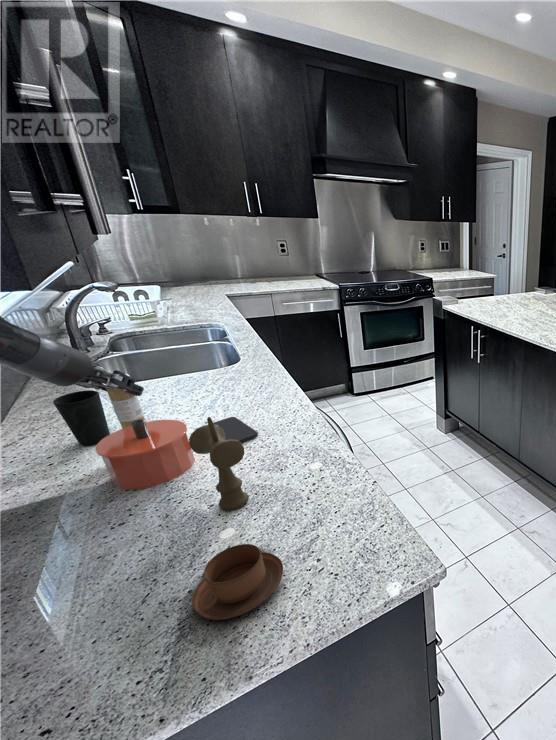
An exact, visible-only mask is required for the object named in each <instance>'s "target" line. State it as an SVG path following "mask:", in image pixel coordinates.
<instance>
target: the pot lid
mask: <svg viewBox="0 0 556 740" xmlns="http://www.w3.org/2000/svg"><path fill="white" fill-rule="evenodd" d="M145 420H146V419H145ZM145 420H142V419H141V420H136V421H133V422H131V426H129V427H126V428H123V429H122V428H121V429H119V430H116V431H114V432H112V433H110V435H108V436H106V437H105V438H103V439H102V440H101V441H100V442H99V443H98V444H97V445H95V448H94V449H95V452H96V454H97V455H98V456H100V457H101V458H102V457H107V458H125V457H132V456H138V455H142V454H146V453H149V452H153V451H156V450H159V449H161V448H164V447H166V446H168V445H170V444H172V443H174V442H176V441H177V440H179V439H180V438H181V437H182V436H184V434H185V433H186V434H187V431H188V427H187V424H186V423H185V422H183V421H181V420H176V419H155V420H149V421H146V422H145Z"/></svg>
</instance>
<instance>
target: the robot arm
mask: <svg viewBox="0 0 556 740" xmlns="http://www.w3.org/2000/svg"><path fill="white" fill-rule="evenodd" d="M0 365H1V366H3V367H5V368H9V369H10V370H13V371H15V372H17V373H19V374H22V375H26V376H28V377H31V378H34V379H38V380H40V381H43V382H46V383H49V384H52V385H54V386H58V387H70V386H73V385H75V386H78V387H82V388H84V389H93V390H95V391H104V392H107V390H106V389H113V388H114V389H118V390H121V391H124V392H127V393H130V394H132V395H135V396H137V397H141V396H142V395H143V393H144V387H143V386H141V385H139V384H136V381H137V380H136V379H135V378H133V377H131V376H130V375H129V376H130V377H129V376H127V375H126V374H127V373H124V372H122V371H121V370H116V369H115V370H113V371H110V370H107V369H106V368H104V367H101V366H98V365H96V364H95V365H93V363H92V359H91V357H90V356H89V354H87V353H86V352H83V351H81V350H79V349H76V348H74V347H72V346H69V345H67V344H65V343H62V342H60V341H57V340H55V339H54V338H51V337H47V336H44V335H42V334H39V333H35V332H32V331H30V330H28V329H27V328H24V327H22V326H19V325H16V324H14V323H12V322H10V321H8V320H7V319H6V318H4V317H3V316H1V315H0ZM109 379H110V380H109ZM108 380H109V383H108V385H105V384H106V383H107V382H108ZM116 385H117V386H116ZM107 393H108V392H107Z"/></svg>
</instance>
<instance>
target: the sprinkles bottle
mask: <svg viewBox="0 0 556 740" xmlns="http://www.w3.org/2000/svg"><path fill="white" fill-rule="evenodd" d="M125 374H126V375H127V376H129V377H131V376H130V375H129V374H128V373H125ZM109 380H110V379H109ZM109 380H108V382H107V383H106V384H105V385H108V383H109ZM116 386H117V385H116ZM106 390H107V395H108V398H109V400H110V403H111V405H112V407H113V411H114V413H115V416H116V418H117V420H118V422H119V424H120V426H121V429H123V428H126V427H129V426H131V422H133V421H136V420H141V419H142V420H145V422H147V421H146V418H145V415H144V414H145V413H144V412H143V408H142V406H141V403H140V400H139V398H138V396H135V395H132V394H130V393H127V392H124V391H121V390H118V389H114V388H113V389H106Z"/></svg>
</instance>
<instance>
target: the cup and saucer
mask: <svg viewBox="0 0 556 740" xmlns="http://www.w3.org/2000/svg"><path fill="white" fill-rule="evenodd" d="M283 574H284V565H283V562H282V560H281V559H280V557H278V556H277V555H275V554H274V553H270V552H265V551H261V549H260V548H259V546H257V545H255V544H252V543H251V544H250V543H242V544H237V545H233V546H229V547H228V548H225V549H223V550H222V551H220V552H218V553H217V554H215V555H214V556H213V557H212V558H211V559H210V560H209V561H208V562H207V564H206V565H205V567H204V569H203V578H202V579H201V581H200V582H199V583H198V585H197V586H196V587H195V589H194V592H193V593H192V599H191V605H192V608H193V610H194V611H195V613H196V614H197V615H199V616H200V617H202V618H204V619H207V620H211V621H212V620H213V621H220V620H227V619H231V618H236V617H238V616H240V615H243V614H245V613H247V612H250V611H251V610H253V609H255V608H256V607H258V606H259V605H261V604H263V602H265V601H267V599H268V598H269V597H270V596H271V595H272V594H273V593H274V592H275V591H276V589H278V587H279V585H280V583H281V581H282V578H283Z"/></svg>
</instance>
